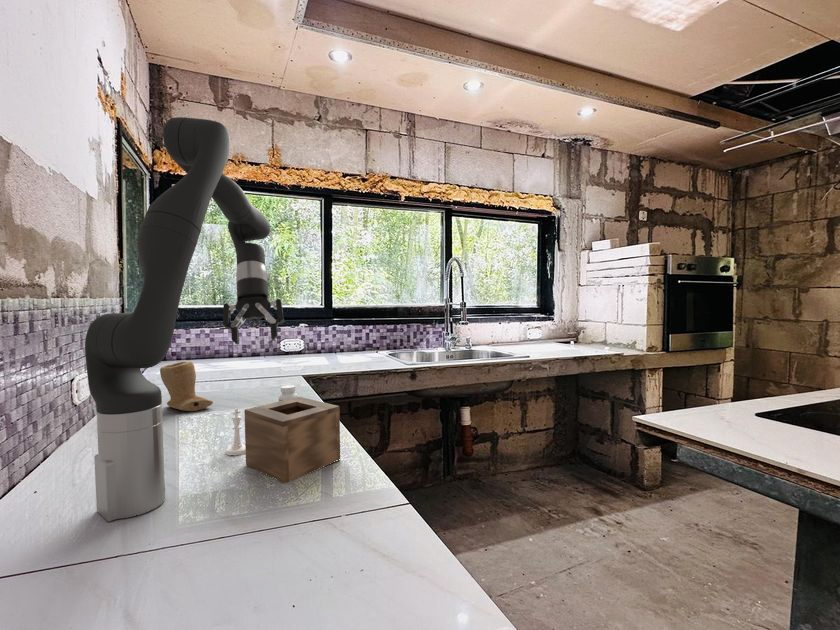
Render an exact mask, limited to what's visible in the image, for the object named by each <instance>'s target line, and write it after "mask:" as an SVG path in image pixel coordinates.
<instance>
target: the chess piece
mask: <svg viewBox="0 0 840 630" xmlns="http://www.w3.org/2000/svg"><path fill="white" fill-rule="evenodd" d="M239 414H241V410H239V409H238V408H234V412H232V415H234V416H232V417H231V421H232V423H233V426H232V427H231V430H234V435H233V443H232V445H231V446H229V447H227V448H226V450H225V454H226V455H227V456H231V455H234V456H240V455H244V454H246V451H245V444H243V442H242V441H241V433H240V430H241V429H242V428H243V427H242V425H240V424H241V420H242V416H240V415H239Z"/></svg>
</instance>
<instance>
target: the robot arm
mask: <svg viewBox="0 0 840 630" xmlns="http://www.w3.org/2000/svg"><path fill="white" fill-rule="evenodd" d="M229 133H230V132H229V131H228V129H227V127H226V126H225V125H223V123H222V122H219V121H216V120H211V119H207V118H205V119H204V118H193V117H182V116H179V117H178V116H177V117H171V118H169V119H168V120H167V121H166V122H165V123H164V126H163V131H162V139H163V145H164V148H165V150H166V151H167V153H168V155H169V156H170V158H171V159H172V160H173V162H175V163H176V165H177V166H179V168H180V169H182V170H183V171H184V172H185V173H186V174H185V175H184V176H183V177H181V179H180V180H179V181H177V182H176V183H175V184H173V185H172V186H171V187H169V188H168V189H167V190H165V191H164V192H163V193H161V194H160V195H159V196H158V197H156V199H155V200H154V201H153V202H152V203H151V204H150V205H149V207H148V208H147V210H146V212H145V215H144V218H143V220H142V223H141V225H140V227H139V231H138V235H137V239H136V248H137V254H138V257H139V262H140V265H141V266H140V267H141V268H142V273H143V285H142V289H141V292H140V296H139V297H138V301H137V304H136V306H135V308H134V310H133V312H119V313H118V312H111V313H105V314H101V315H100V316H98V317H96V318H95V319H93V321H92V322H91V323H90V325H89V327H88V329H87V331H86V335H85V340H84V341H85V342H84V355H85V367H86V375H87V384H88V390H89V393H90V396H91V397H92V399H93V401H94V402H95V409H96V429H97V430H96V431H97V432H96V433H97V434H96V435H97V447H98V448H97V451H98V453H97V454H95V455H94V456H93V457H94V461H93V462H94V478H95V479H94V480H95V501H96V503H95V504H96V505H95V506H96V511H97V512H98V513H99V514H100V515H101V516H102V518H104V520H106V522H112V521H115V520H118V519H119V520H121V519H127V518H132V517H136V515H137V516H141V515H143V514H145V513H147V512H150V511H153V510H155V509H156V508H158V507H159V506H160V505H162V504H163V503H164V502H165V500H166V481H165V480H166V479H165V453H164V452H165V449H164V429H163V428H164V427H163V426H164V424H163V423H164V422H163V403H162V402H163V400H162V398H163V397H162V396H163V395H162V390H161V388H160V387H159V386H158V385H156V384H154V383H153V382H151V381H150V380H148V379H147V378H146V377H145V376H144V374H143V373H142V371H141V369H150V368H153V367H155V366H157V365H158V364H160V363H161V362H162V361H163V359H164V358H165V356H166V355H167V353H168V352H169V350H170V347H171V344H172V341H173V336H174V332H175V326H176V322H177V316H178V311H179V306H180V301H181V296H182V293H183V288H184V285H185V282H186V277H187V275H188V271H189V268H190V265H191V261H192V258H193V255H194V253H195V251H196V247H197V245H198V241H199V238H200V236H201V231H202V228H203V223H204V221H205V217H206V214H207V211H208V208H209V207H210V206H209V205H210V203H211V200H213V201H214V203H215V204H216V206H217V207H218V208H219V209H220V211H221V213H222V214H223V215H224V217H225V219H226V220H228V223H227V229H228V232H229V235H230V239H231V240H232V243H233V246H234V249H235V250H234V251H235V255H236V257H235V258H236V272H235V274H236V276H235V277H236V279H235V280H236V283H235V284H236V304H228V303H224V304H223V308H222V309H223V311H222V325H223V327H224V328H225V330H230V331H231V333H230V334H231V340H232V342H233V343H234V344H235V345H240V332H239V331H240V330H239V328H240V327H241V326H242V325H243V324H244V323H245V321H253V320H254V321H255V320H257V321H258V320H259V321H260V320H262V319H263V318H264V320H266V321H267V322H268V323H270V325H269V328H270V338H271V341H276V339H277V338H278V336H279V335H278V326H279V325H281V324H284V323H285V318H284V317H285V316H284V310H283V304H282V300H281V299H279V298H277V299H276V300H271V301H270V299H269V286H268V280H269V279H268V274H267V269H266V255H265V249H264V247H263V246H262V245H261V244H257V243H254V242H253V241H260V240H265V239H266V238H267V237H269V235H270V233H271V225H270V222H269V220H268V218H267V217H266V215H265V214H264V213H263V212H262V211H260V209H258V208H256V206H255V205H253V204H252V203H251V202H250V200H249V198H248V197H247V195H246V193H245V192H244V190H243V189H242V188H241V186H240V185H239V184H237V183H236V182H235V181H234V180H233V179H232V178H230V177H229V176H227V175H226V174H225V173H224V171H225V168H226V166H227V163H228V161H229V157H230V153H231V137H230V134H229ZM252 242H253V243H252ZM271 307H273V309H274V310H276V313H277V318H275V317H273V316H272V315H271V313H270V312H269V310H270V309H271ZM234 311H237V312H238V314H236V316H235V319H234V320H233V321H232V322H231V320H232V319H231V315H232V314H234Z"/></svg>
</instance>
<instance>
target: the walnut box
mask: <svg viewBox="0 0 840 630" xmlns="http://www.w3.org/2000/svg"><path fill="white" fill-rule="evenodd" d="M243 410H244V442H245V444H244V445H245V451H246V453H245V466H246V465H247V466H246V467H248V468H251V469H253V470H255V471H257V472H260V473H261V472H262V473H261V474H263V473H264V475H266V474H267V475H266V476H268V475H269V476H268V477H270V476H271V478H272V477H274V478H276V479H277V481H278V480H279V481H278V482H281V483H283V484H286V483H289V482H291V481H293V479H294V480H296V479H298V477H299V478H301V477H303V475H304V476H306V475H308V473H309V474H311V473H313V472H315V471H314V470H316V471H318V470H320V469H319V468H321V467H323V466H326V465H328V464H330V463H332V462H334V461H336V460H339V459H340V460H341V425H340V424H341V422H340V420H341V419H340V418H341V417H340V416H341V415H340V413H341V412H340V405H336V404H332V403H327V402H325V401H319V400H315V399H311V398H306V397H303V396H298V397H297V398H292V399H288V400H284V401H279V400H278V401H276V402H272V403H267V404H263V405H258V406H255V407H249V408H245V409H243ZM328 466H329V465H328ZM326 467H327V466H326ZM323 468H324V467H323ZM317 469H318V470H317ZM321 469H322V468H321ZM312 471H313V472H312ZM310 472H311V473H310ZM274 478H273V479H274ZM295 478H296V479H295ZM276 479H275V480H276ZM290 480H291V481H290Z"/></svg>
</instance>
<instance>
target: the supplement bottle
mask: <svg viewBox="0 0 840 630" xmlns="http://www.w3.org/2000/svg"><path fill="white" fill-rule="evenodd" d="M280 392H281V393H280V394H279V395H278V402H279V401H284V400H288V399H292V398H297V397H299V395H298V393H296V385H293V384H289V385H288V384H287V385H282V386H281V387H280Z"/></svg>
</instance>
